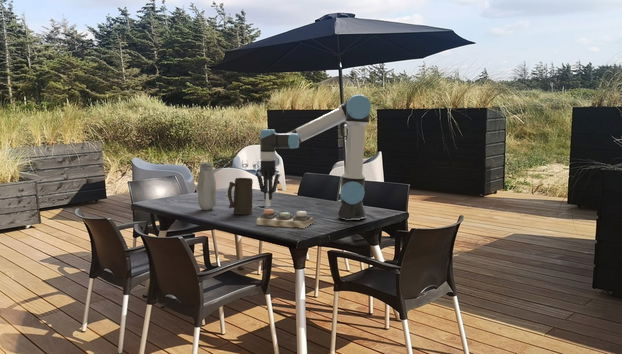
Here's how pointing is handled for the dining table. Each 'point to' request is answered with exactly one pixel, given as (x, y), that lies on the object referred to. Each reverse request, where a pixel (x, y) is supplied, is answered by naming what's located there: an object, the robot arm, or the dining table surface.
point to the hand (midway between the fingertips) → (268, 205)
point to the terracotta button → (268, 211)
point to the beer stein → (241, 196)
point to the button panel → (284, 220)
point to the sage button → (285, 214)
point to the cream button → (301, 213)
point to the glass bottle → (206, 187)
